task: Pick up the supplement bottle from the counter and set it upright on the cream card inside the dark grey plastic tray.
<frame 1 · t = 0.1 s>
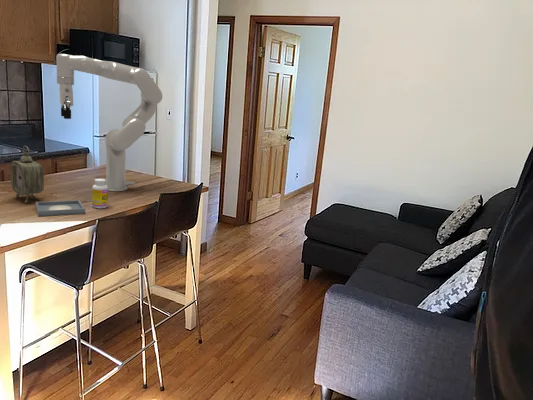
hand: (66, 117, 214), 37 cm above the breakfast bar, tool pointing down, fingers open, 9 cm apart
tabletop clock: (28, 200, 203), on the breakfast bar
supplement bottle: (99, 207, 204), on the breakfast bar
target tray: (60, 210, 193), on the breakfast bar
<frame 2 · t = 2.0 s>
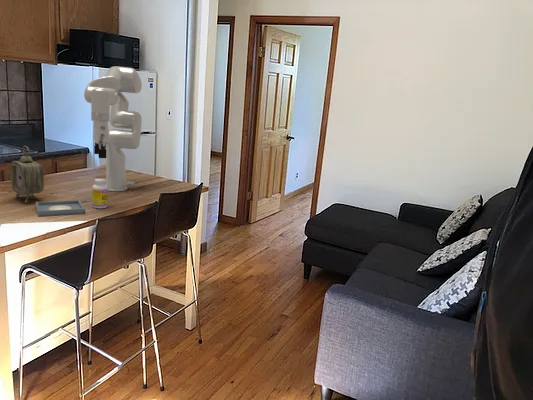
hand: (100, 156, 197), 24 cm above the breakfast bar, tool pointing down, fingers open, 9 cm apart
nothing on the breakfast bar moved.
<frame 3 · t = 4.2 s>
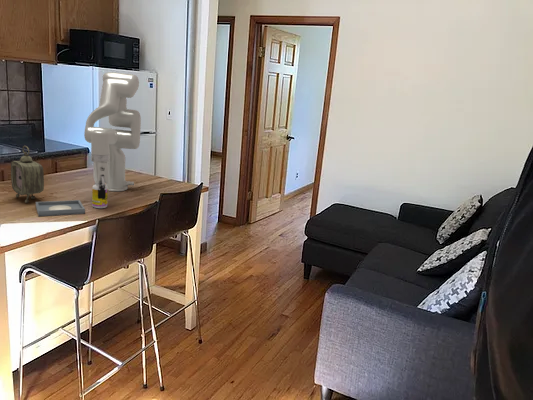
hand: (100, 195, 202), 5 cm above the breakfast bar, tool pointing down, fingers closed on supplement bottle, 6 cm apart
supplement bottle: (99, 207, 204), on the breakfast bar, touching gripper
everything else where it was.
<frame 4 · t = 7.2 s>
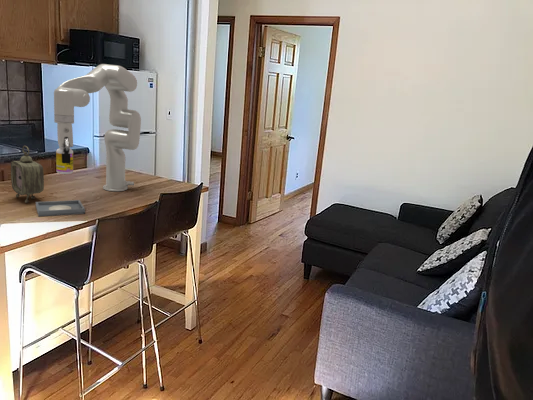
hand: (64, 160, 189), 22 cm above the breakfast bar, tool pointing down, fingers closed on supplement bottle, 6 cm apart
supplement bottle: (65, 173, 190), point 17 cm above the breakfast bar, touching gripper
everything else where it was.
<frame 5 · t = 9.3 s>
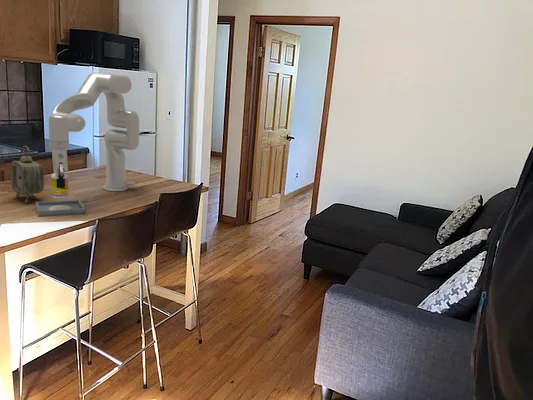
hand: (59, 185, 190), 11 cm above the breakfast bar, tool pointing down, fingers closed on supplement bottle, 6 cm apart
supplement bottle: (59, 197, 192), point 6 cm above the breakfast bar, touching gripper
everything else where it was.
when the fingers open (7 cm above the breakfast bar, at t = 10.6 s): supplement bottle drops 1 cm, resting on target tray.
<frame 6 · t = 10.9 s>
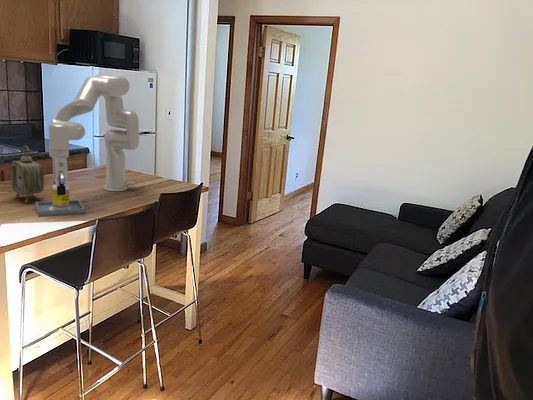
hand: (59, 192, 191), 8 cm above the breakfast bar, tool pointing down, fingers open, 9 cm apart
supplement bottle: (60, 208, 193), point 1 cm above the breakfast bar, touching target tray
everything else where it was.
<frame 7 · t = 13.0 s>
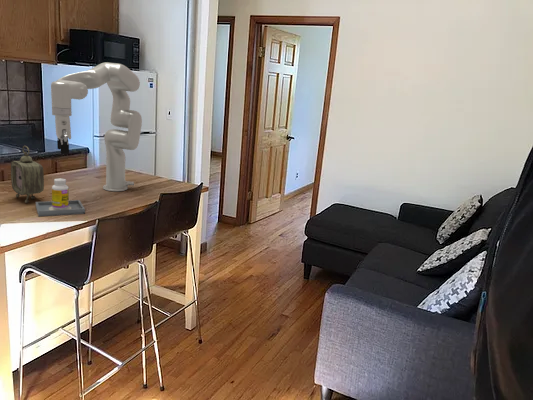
hand: (63, 151, 192), 25 cm above the breakfast bar, tool pointing down, fingers open, 9 cm apart
nothing on the breakfast bar moved.
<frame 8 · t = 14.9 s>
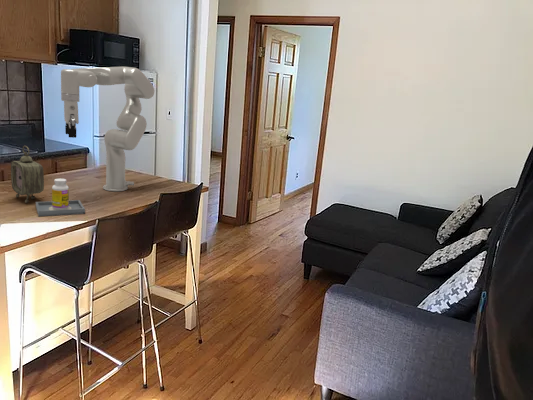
hand: (70, 135, 203), 30 cm above the breakfast bar, tool pointing down, fingers open, 9 cm apart
nothing on the breakfast bar moved.
at the end: supplement bottle inside the target area on the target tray (0.2 cm from its centre), point 0.7 cm above the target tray's base; supplement bottle tilted 1°; the gripper is holding nothing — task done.
